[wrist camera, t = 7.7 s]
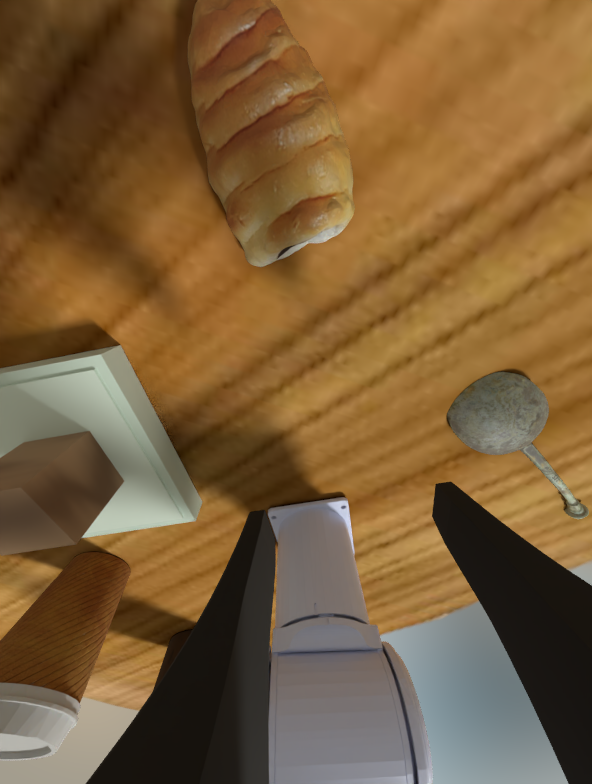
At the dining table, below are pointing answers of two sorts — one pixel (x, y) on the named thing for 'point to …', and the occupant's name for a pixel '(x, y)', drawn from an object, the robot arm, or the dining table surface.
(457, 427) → the soupspoon
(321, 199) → the pastry
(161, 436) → the serving board
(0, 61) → the dining table surface
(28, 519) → the walnut block
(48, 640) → the disposable coffee cup
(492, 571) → the robot arm
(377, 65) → the dining table surface
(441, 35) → the dining table surface
